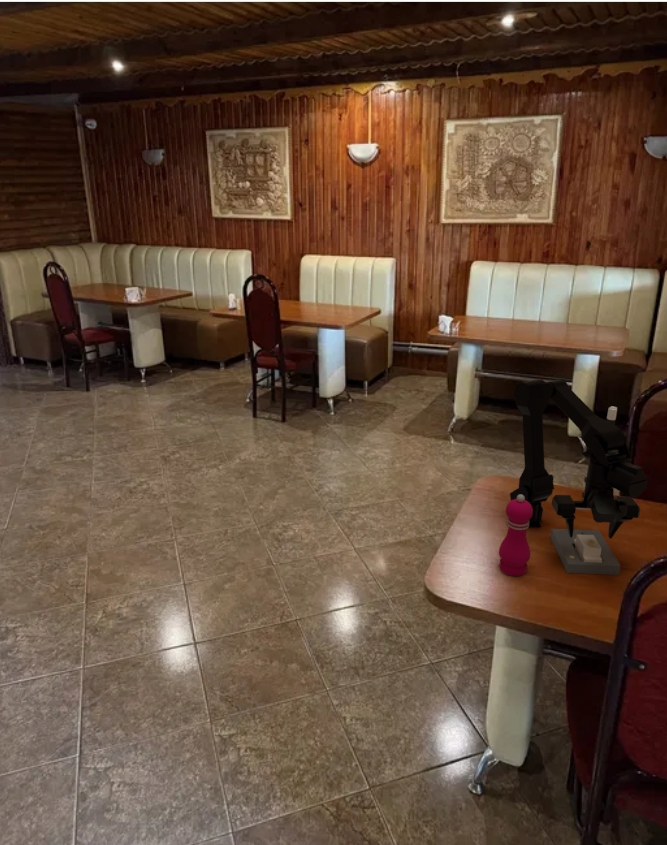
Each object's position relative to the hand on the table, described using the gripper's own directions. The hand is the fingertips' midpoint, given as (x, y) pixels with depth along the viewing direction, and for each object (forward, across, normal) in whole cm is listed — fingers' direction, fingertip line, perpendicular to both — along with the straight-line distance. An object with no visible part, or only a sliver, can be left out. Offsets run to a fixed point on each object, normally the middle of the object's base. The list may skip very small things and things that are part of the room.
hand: (590, 537), depth 152 cm
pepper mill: (+7, -19, -4) cm, 20 cm away
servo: (+7, 0, 0) cm, 7 cm away
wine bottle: (+7, +11, +29) cm, 32 cm away
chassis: (+7, 0, +3) cm, 7 cm away
